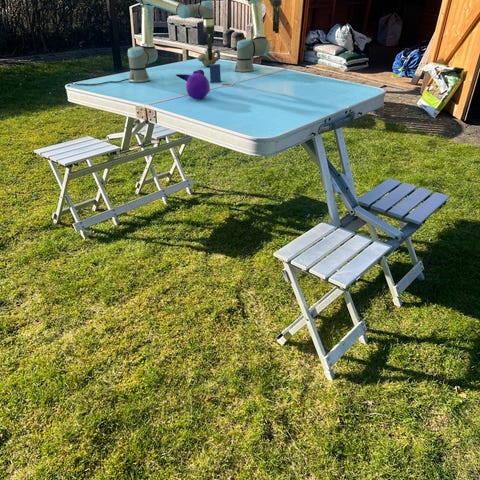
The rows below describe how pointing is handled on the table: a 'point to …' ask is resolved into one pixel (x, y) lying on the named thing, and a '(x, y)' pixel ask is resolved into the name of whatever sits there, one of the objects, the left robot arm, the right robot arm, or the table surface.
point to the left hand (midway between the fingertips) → (210, 58)
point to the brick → (215, 73)
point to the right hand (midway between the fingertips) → (275, 32)
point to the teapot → (206, 61)
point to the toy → (196, 84)
